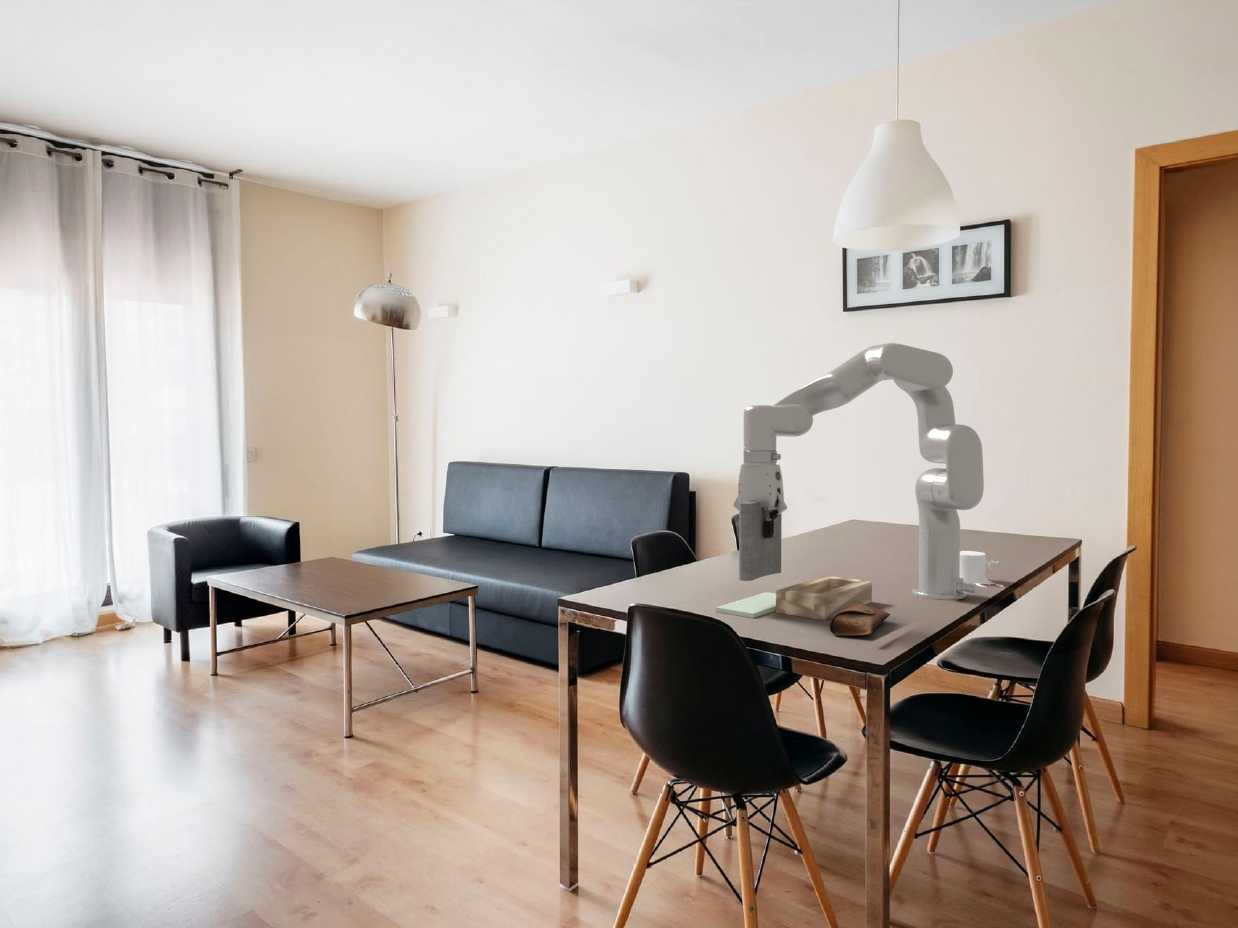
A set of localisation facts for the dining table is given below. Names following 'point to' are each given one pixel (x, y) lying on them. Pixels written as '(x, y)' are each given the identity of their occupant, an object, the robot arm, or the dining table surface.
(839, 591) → the beige open box
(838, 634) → the sunglasses case
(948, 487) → the robot arm
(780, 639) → the dining table surface
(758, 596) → the mat
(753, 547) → the hip flask
